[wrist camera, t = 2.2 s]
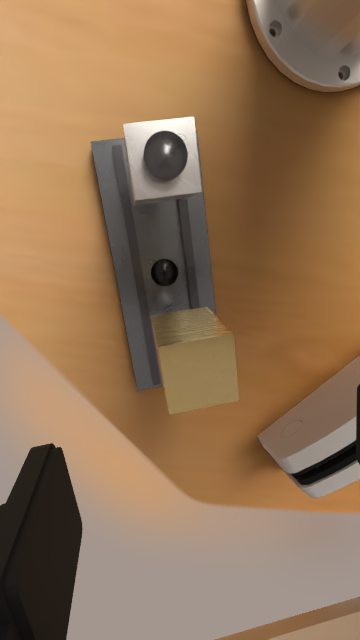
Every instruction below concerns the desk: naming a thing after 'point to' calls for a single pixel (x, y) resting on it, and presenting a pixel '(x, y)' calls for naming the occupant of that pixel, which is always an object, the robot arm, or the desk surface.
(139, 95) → the desk surface
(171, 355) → the tan square-headed peg
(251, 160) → the desk surface
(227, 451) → the desk surface
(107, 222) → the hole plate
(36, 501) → the robot arm
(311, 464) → the white black arched block
